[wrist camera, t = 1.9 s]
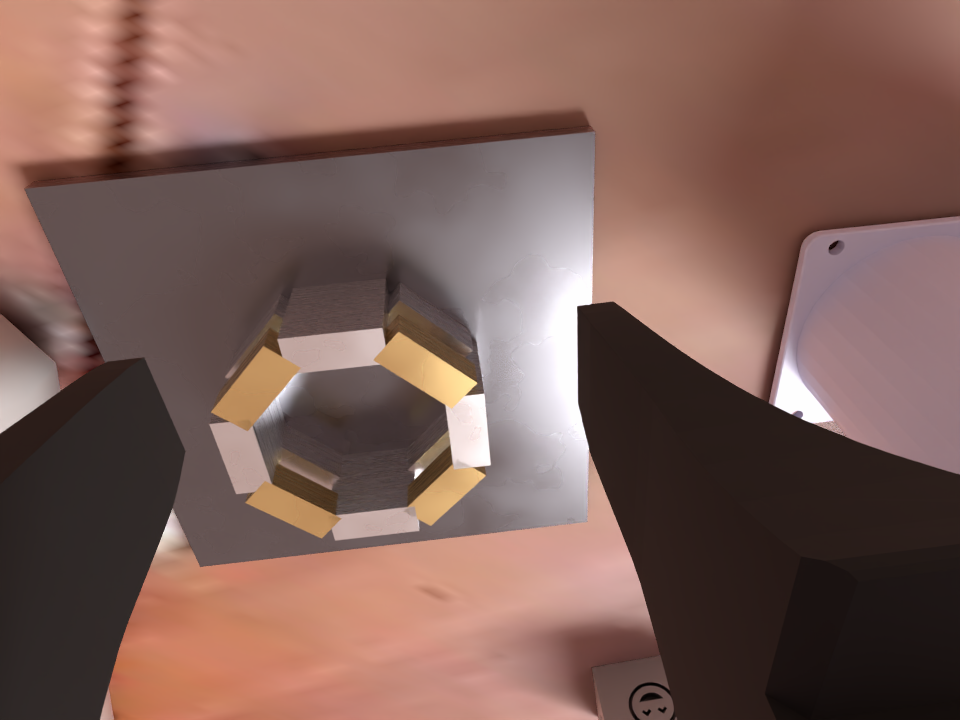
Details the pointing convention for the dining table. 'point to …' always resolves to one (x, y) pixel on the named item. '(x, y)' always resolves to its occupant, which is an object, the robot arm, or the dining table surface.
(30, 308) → the dining table surface
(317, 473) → the collar stand
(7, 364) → the tube
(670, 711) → the dice cube
